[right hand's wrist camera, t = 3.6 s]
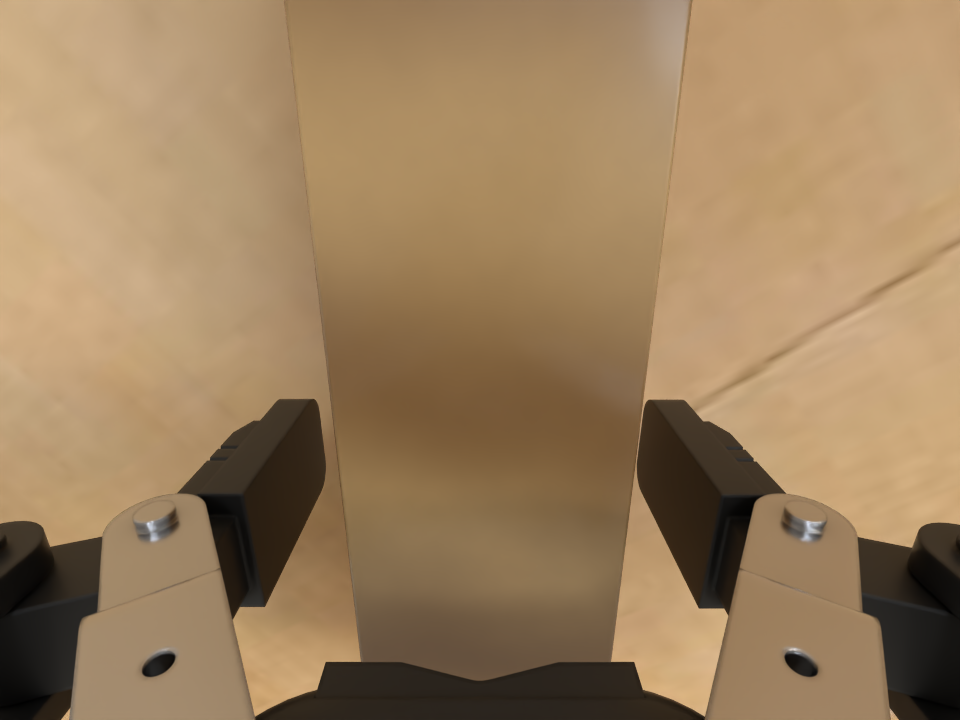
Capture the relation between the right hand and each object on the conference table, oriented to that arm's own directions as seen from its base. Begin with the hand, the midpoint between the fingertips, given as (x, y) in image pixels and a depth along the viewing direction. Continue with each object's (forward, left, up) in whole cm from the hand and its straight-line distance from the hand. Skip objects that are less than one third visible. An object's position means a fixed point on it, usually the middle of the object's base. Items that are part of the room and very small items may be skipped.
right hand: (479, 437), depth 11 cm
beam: (+15, -26, -3) cm, 30 cm away
